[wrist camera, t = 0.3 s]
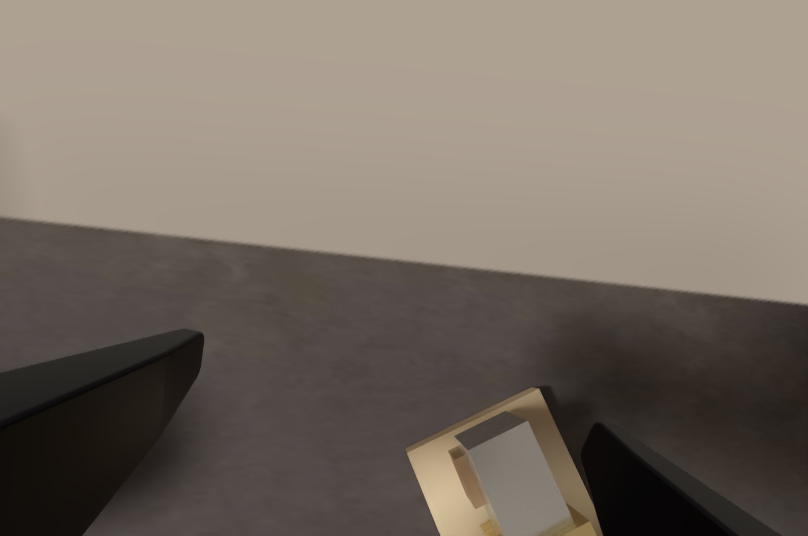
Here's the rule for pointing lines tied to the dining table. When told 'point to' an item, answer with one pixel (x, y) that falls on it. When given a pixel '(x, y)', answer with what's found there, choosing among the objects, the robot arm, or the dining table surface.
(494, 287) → the dining table surface
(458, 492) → the birch rig board
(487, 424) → the valve and pipe
